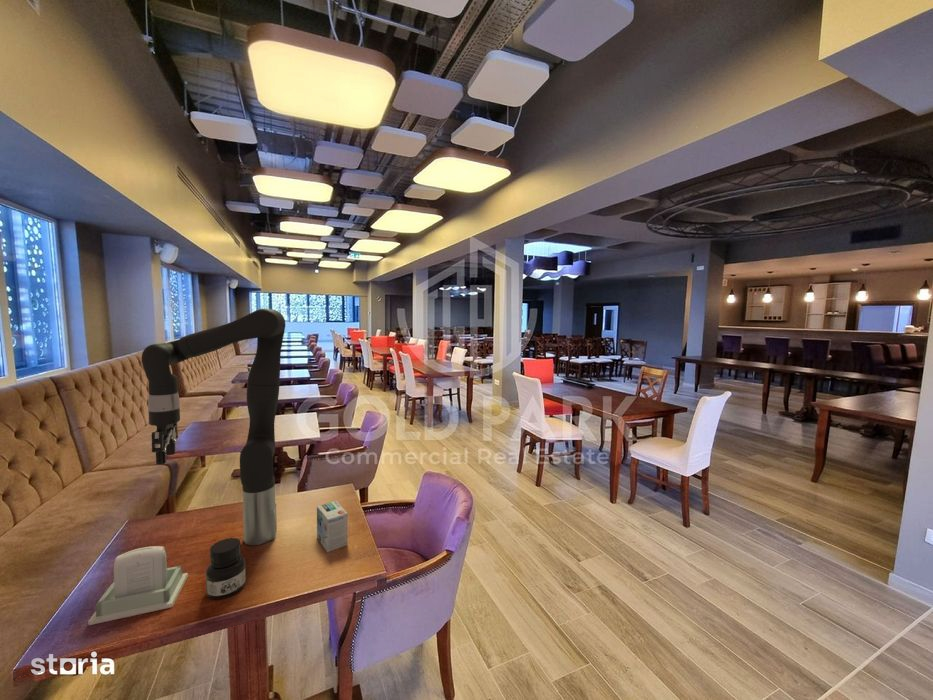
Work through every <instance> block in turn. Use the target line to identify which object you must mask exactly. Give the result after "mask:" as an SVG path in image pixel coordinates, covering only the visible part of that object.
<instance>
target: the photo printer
mask: <svg viewBox="0 0 933 700" xmlns="http://www.w3.org/2000/svg"><path fill="white" fill-rule="evenodd" d="M167 566H168V565H167V552H166V548H165V546H161V545H158V546H156V545H154V546H153V545H151V546H144V547H139V548H135V549H132V550H129V551H127V552H123V553H122V554H119V555H118V556H116V558H115V560H114V564H113V582H114V596H115V598H120V597H125V596H130V595H135V594H140V593H145V592H150V591H155V590H160V589H165V587H166V586H167V568H168V567H167Z"/></svg>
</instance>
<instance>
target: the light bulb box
mask: <svg viewBox="0 0 933 700" xmlns="http://www.w3.org/2000/svg"><path fill="white" fill-rule="evenodd" d="M316 537H317V539H318V541H319V542H320V544H321V545H322V546H323V548H324V550H325V551H326V552H327V553H329V552H332V551H334V550H337V549H340V548H342V547H345V546H348V512H347V511H346V510H345V509H344V507H343V506H341V504H340V503H339V502H338V501H337V500H333V501H331V502H328V503H324V504H321V505H318V506H316Z"/></svg>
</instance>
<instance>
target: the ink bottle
mask: <svg viewBox="0 0 933 700" xmlns="http://www.w3.org/2000/svg"><path fill="white" fill-rule="evenodd" d="M241 547H242V546H241V540H240V538H237V537H236V538H235V537H230V538H224V539H221V540H219V541H217V542H214V543H213V544H212V545H211V546H210V548H209V559H210V562H209V563H210V564H209V565H208V566H207V567H206V570H205V582H206V583H205V588H206V589H205V590H206V596H207V597H208V598H209V599H212V600H220V599H224V598H225V599H226V598H229V597H230V596H233V595H235V594H237V593H238V592H240V591H241V590H242V589H243V588H244V587H245V585H246V583H247V582H246V581H247V577H246V576H247V575H246V569H247V568H246V559H245V557H244V556H243V555H241V552H242V551H241V550H242V549H241Z"/></svg>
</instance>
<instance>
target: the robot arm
mask: <svg viewBox="0 0 933 700" xmlns="http://www.w3.org/2000/svg"><path fill="white" fill-rule="evenodd" d="M285 330H286V319H285V317H284V316H283V314H282V313H281V312H280V311H278V310H276V309H271V308H259V309H257V310H256V309H255V310H254V311H252V312H250V313H249V314H246V315H245V316H242V317H240V318H238V319H235V320H233V321H230V322H228V323H225V324H221V325H219V326H216V327H211V328H207V329H204V330H201V331H197V332H193V333H190V334H186V335H183V336H182V337H180V338H179V339H176V340H173V341H168V342H162V343H154V344H149V345H148V346H146V347H145V348H144V349H143V350H142V354H141V364H142V368H143V370H144V374H145V376H146V379H147V380H148V400H147V406H148V407H147V409H148V411H147V412H148V425H150V426H155V427H156V430H155V431H153V432H151V434H150V435H151V453H155V464H156V465H164V464H166V462H167V456H173V455H175V454H176V442H177V440H178V438H179V434H178V423H179V422H180V421H181V408H180V407H181V406H180V396H179V395H180V394H179V382H178V377H177V375H175V374H173V373H172V371H171V368H170V366H173V365H175V364H179V363H181V362H184V361H186V360H189V359H191V358H197V357H199V356H204V355H206V354H209V353H212V352H215V351H217V350H220V349H222V348H225V347H227V346H230V345H231V344H236V343H238V342H242V341H246V340H252V339H256V351H255V352H256V353H255V356H254V359H253V362H252V364H251V367H250V369H249V373H248V377H247V381H246V382H247V384H246V406H247V411H248V416H249V426H248V432H247V433H248V434H247V439H246V443H245V445H244V446H243V448H242V449H241V451H240V453H239V473H240V475H239V476H240V477H239V478H240V483H241V486H242V519H243V542H244V544H245V545H248V546H259V545H263V544H265V543H268V542H270V541H272V540H276V535H277V503H276V483H275V482H276V479H275V478H276V477H275V474H274V455H275V453H276V436H275V435H276V434H275V423H276V422H275V421H276V414H277V409H278V403H279V395H280V382H281V380H280V378H281V356H282V355H281V354H282V353H281V352H282V345H283V341H284V334H285Z"/></svg>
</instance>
